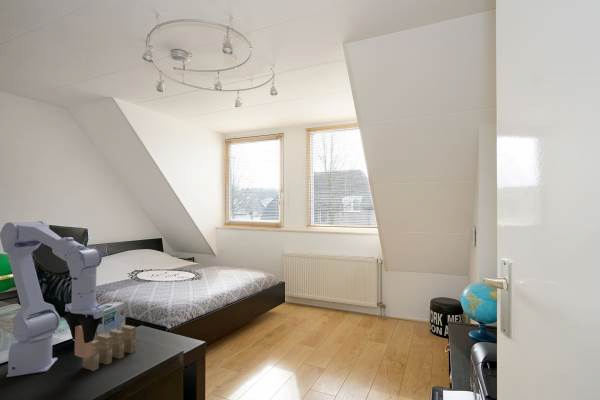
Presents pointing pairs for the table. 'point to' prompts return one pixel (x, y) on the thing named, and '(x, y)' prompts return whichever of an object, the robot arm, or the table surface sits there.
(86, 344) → the domino
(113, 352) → the domino
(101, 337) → the domino
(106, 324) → the light bulb box
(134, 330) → the domino
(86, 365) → the domino
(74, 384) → the table surface
